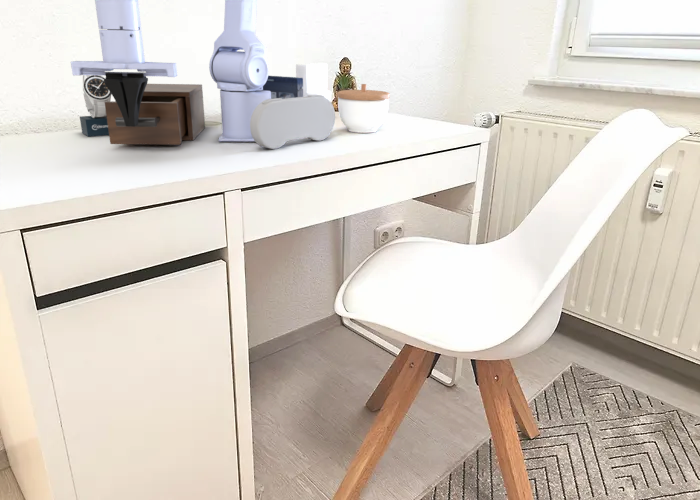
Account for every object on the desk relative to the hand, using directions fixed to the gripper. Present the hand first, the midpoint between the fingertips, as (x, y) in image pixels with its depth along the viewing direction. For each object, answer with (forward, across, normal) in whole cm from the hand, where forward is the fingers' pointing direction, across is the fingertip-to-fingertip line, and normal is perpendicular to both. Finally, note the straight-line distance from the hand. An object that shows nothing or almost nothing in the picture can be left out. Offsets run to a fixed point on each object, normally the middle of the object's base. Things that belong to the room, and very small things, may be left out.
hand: (132, 125), depth 84 cm
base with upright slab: (+5, +29, +46) cm, 55 cm away
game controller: (+5, +25, +12) cm, 28 cm away
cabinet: (+5, 0, +22) cm, 23 cm away
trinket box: (+5, +39, +27) cm, 48 cm away
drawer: (+4, 0, +11) cm, 12 cm away
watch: (+5, -12, +21) cm, 25 cm away
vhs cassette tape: (+5, +18, +37) cm, 42 cm away
